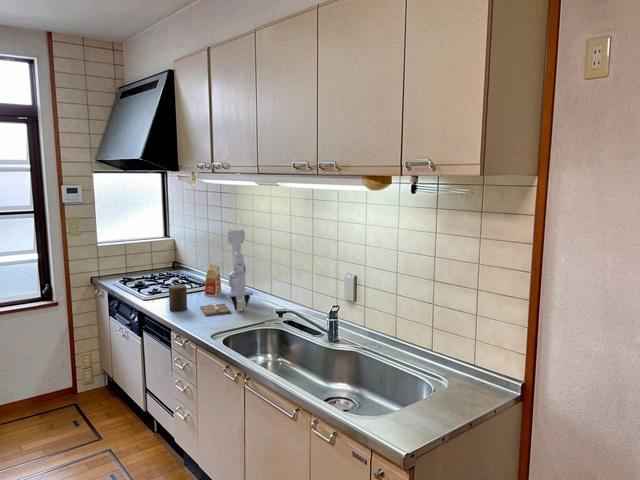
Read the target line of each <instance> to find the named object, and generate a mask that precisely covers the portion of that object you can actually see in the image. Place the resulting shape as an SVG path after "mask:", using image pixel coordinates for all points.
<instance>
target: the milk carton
mask: <svg viewBox="0 0 640 480" xmlns="http://www.w3.org/2000/svg"><path fill="white" fill-rule="evenodd" d="M220 267H221V266H220V265H217V264H212V263H208V268H207V271H206V276H205V281H204V282H205V284H204V297H218V296H220V295H222V283H221V280H222V279H221V273H220Z"/></svg>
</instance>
